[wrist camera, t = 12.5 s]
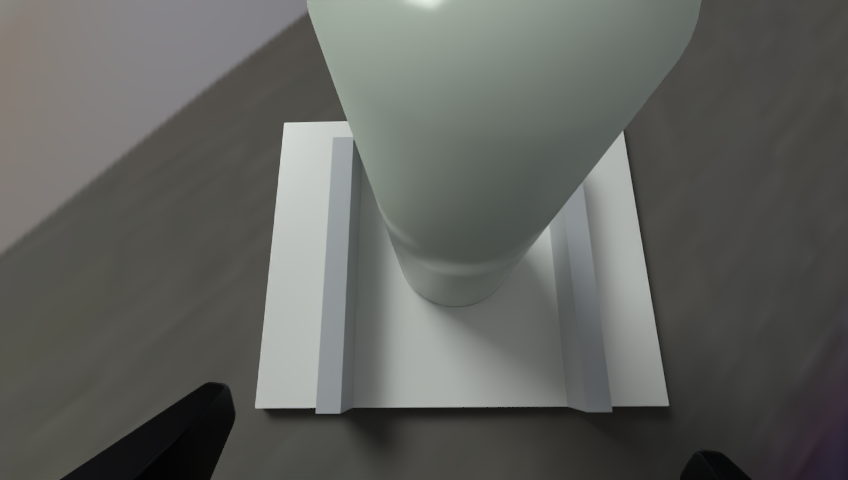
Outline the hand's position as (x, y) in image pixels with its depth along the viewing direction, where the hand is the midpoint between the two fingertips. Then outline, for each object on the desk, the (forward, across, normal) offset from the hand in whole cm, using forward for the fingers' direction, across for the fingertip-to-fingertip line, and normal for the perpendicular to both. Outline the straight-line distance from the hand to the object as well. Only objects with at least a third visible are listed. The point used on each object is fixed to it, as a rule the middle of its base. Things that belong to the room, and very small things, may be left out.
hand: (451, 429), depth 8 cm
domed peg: (+9, 0, +1) cm, 9 cm away
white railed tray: (+10, 0, +2) cm, 10 cm away
